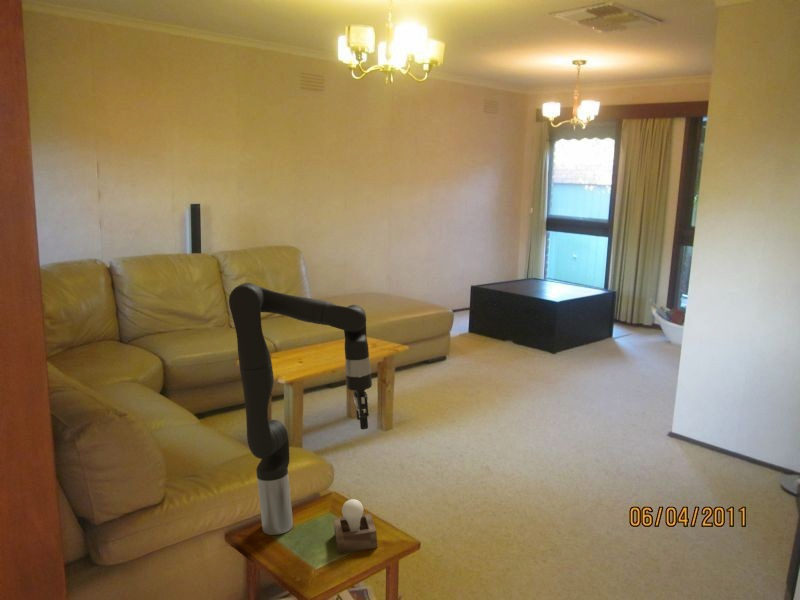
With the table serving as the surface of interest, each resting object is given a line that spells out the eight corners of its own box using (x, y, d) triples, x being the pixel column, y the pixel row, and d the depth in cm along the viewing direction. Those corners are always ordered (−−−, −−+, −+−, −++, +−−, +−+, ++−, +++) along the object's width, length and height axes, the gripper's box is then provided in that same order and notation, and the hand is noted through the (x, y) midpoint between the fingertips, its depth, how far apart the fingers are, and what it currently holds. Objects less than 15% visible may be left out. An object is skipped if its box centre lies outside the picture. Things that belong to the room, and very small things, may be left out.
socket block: (334, 534, 191) (333, 518, 191) (371, 528, 193) (370, 513, 193) (338, 554, 181) (337, 537, 180) (377, 547, 183) (376, 531, 182)
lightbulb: (355, 528, 191) (351, 493, 189) (370, 534, 187) (366, 498, 185) (340, 537, 187) (336, 502, 185) (355, 543, 183) (351, 507, 181)
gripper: (343, 367, 199) (347, 418, 202) (348, 379, 186) (352, 433, 188) (367, 365, 201) (371, 415, 203) (374, 376, 187) (378, 430, 190)
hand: (362, 424), depth 196 cm, fingers open, 8 cm apart
